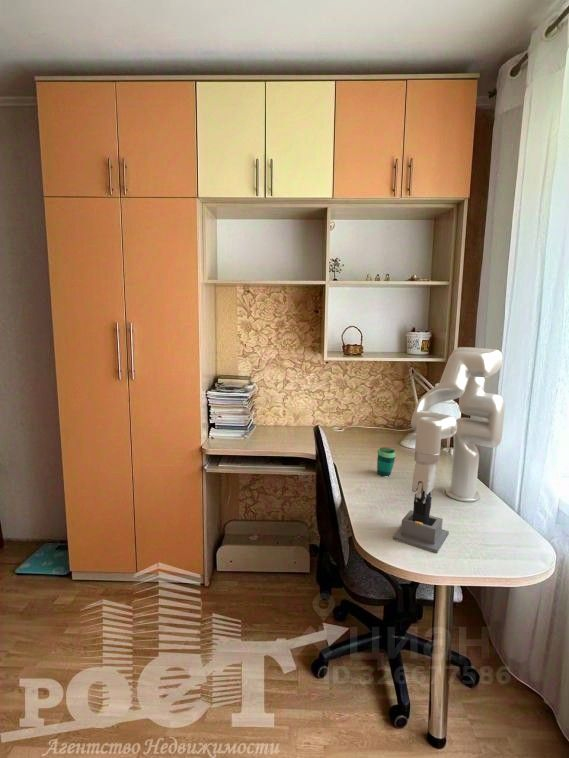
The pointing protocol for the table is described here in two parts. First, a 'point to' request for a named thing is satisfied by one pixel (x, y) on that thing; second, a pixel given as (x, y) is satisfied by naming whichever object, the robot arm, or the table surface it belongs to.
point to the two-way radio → (425, 518)
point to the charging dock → (422, 533)
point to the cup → (385, 461)
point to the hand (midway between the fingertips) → (422, 510)
